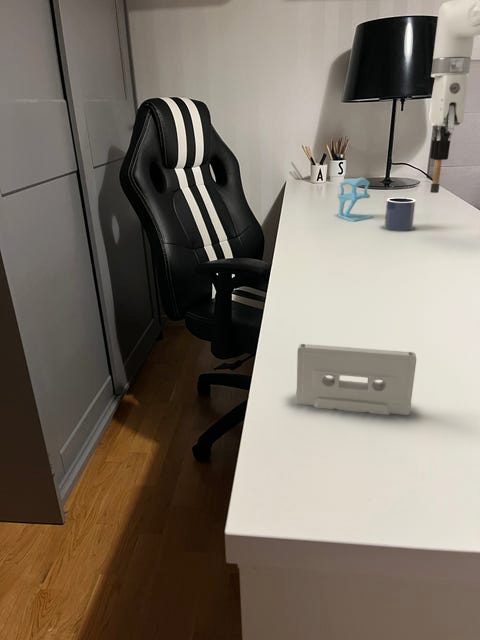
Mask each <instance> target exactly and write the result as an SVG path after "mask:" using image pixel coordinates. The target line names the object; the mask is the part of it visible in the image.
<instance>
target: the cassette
mask: <svg viewBox="0 0 480 640" xmlns="http://www.w3.org/2000/svg"><path fill="white" fill-rule="evenodd" d="M296 356H297V357H296V359H297V360H296V363H297V364H296V391H295V404H297V405H307V406H314V408H318V409H326V410H334V409H336V410H339V411H346V412H357V413H369V414H375V415H376V414H379V415H385V416H387V415H388V416H389V415H390V414H393V415H402V416H403V415H404V416H410V414H411V407H412V398H413V396H412V395H413V390H414V382H415V374H416V367H417V356H416V353H415V352H413V351H402V350H401V351H400V350H388V349H376V348H375V349H374V348H364V347H363V348H361V347H349V346H337V345H325V344H323V345H321V344H311V343H309V344H308V343H299V345H298V346H297V355H296ZM327 376H330V377H327ZM341 376H345V377H355V378H367V382H364V381H352V380H341ZM377 381H379V382H377ZM380 381H381V382H380Z"/></svg>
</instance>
